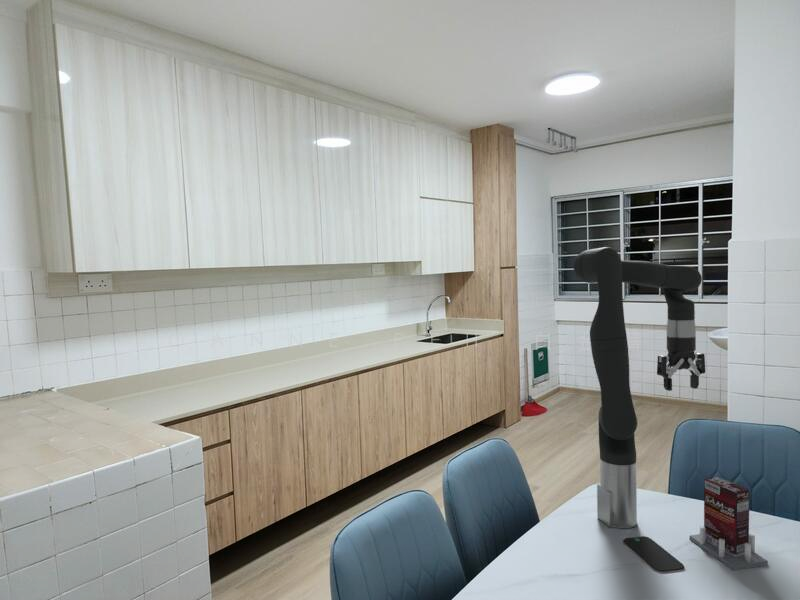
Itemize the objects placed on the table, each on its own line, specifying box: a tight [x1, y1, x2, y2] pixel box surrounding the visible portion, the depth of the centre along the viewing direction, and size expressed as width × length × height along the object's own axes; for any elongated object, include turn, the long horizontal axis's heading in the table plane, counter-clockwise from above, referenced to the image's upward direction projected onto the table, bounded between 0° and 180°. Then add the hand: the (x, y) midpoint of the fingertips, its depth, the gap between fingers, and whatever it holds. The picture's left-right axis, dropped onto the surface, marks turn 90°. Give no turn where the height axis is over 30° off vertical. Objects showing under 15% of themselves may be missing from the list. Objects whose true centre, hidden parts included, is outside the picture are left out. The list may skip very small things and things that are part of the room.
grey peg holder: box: [689, 525, 769, 571], centre depth 126 cm, size 9×14×5 cm
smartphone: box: [622, 535, 686, 574], centre depth 126 cm, size 8×1×15 cm
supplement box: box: [703, 476, 750, 558], centre depth 126 cm, size 9×5×16 cm, turn 20°
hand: (681, 389), depth 154 cm, fingers open, 8 cm apart
